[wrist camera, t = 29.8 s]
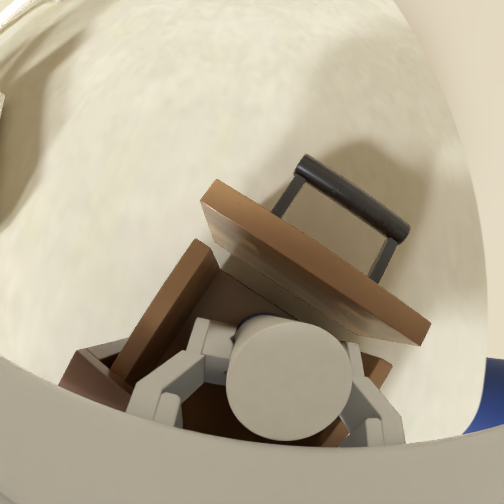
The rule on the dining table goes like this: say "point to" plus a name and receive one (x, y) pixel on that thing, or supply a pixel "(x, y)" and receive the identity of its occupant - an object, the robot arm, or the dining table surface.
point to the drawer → (249, 302)
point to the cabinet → (99, 377)
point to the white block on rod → (13, 10)
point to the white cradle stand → (1, 101)
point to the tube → (286, 377)
